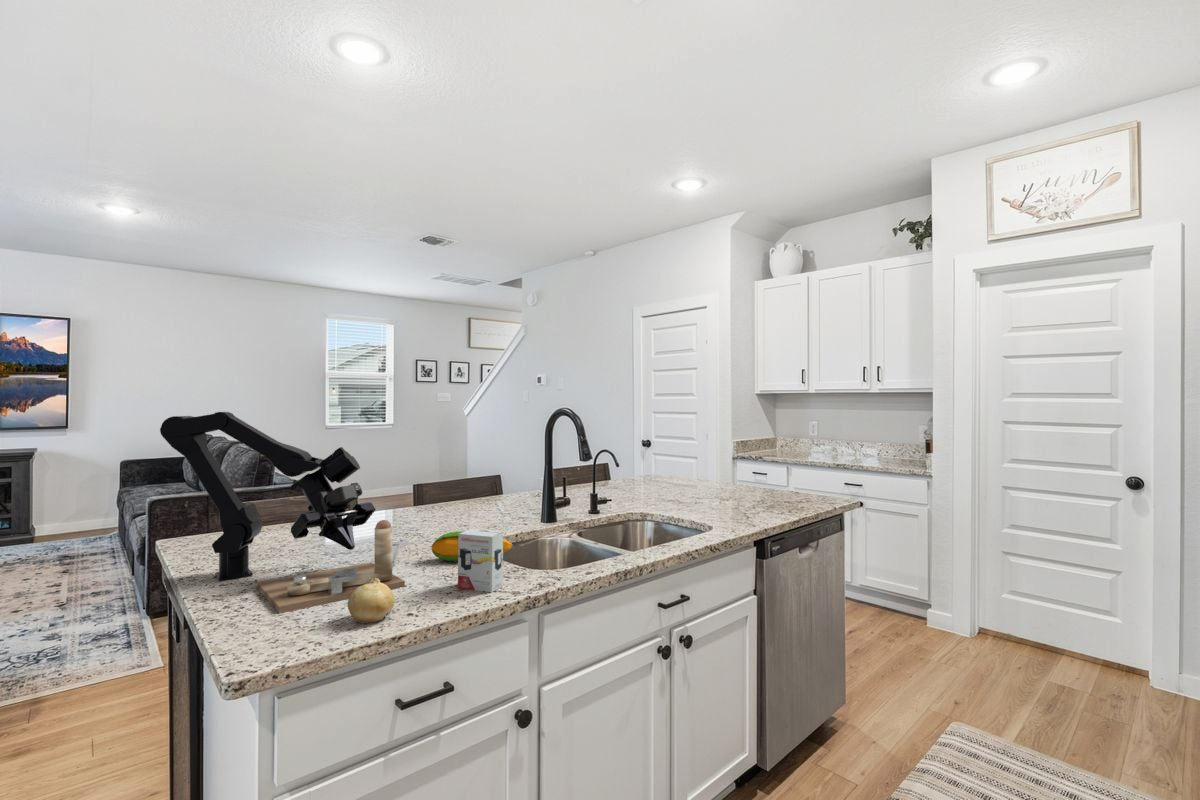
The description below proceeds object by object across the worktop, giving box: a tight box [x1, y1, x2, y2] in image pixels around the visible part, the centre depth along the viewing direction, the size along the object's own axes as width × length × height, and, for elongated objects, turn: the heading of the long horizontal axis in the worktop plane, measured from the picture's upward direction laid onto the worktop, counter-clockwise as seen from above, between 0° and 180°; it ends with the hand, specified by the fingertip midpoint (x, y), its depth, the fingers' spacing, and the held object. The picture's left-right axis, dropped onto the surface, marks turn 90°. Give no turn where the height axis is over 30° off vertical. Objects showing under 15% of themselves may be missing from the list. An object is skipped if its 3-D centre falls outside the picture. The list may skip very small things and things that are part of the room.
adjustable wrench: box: [392, 538, 410, 568], centre depth 150 cm, size 25×6×2 cm, turn 10°
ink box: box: [457, 528, 504, 593], centre depth 123 cm, size 9×5×12 cm, turn 70°
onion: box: [346, 577, 395, 624], centre depth 105 cm, size 8×8×7 cm
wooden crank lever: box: [288, 519, 393, 595], centre depth 120 cm, size 20×4×13 cm, turn 123°
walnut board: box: [256, 561, 406, 614], centre depth 123 cm, size 20×24×1 cm
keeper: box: [294, 568, 357, 595], centre depth 117 cm, size 8×12×3 cm, turn 131°
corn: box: [431, 530, 513, 562], centre depth 146 cm, size 7×8×20 cm
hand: (352, 548), depth 130 cm, fingers closed
